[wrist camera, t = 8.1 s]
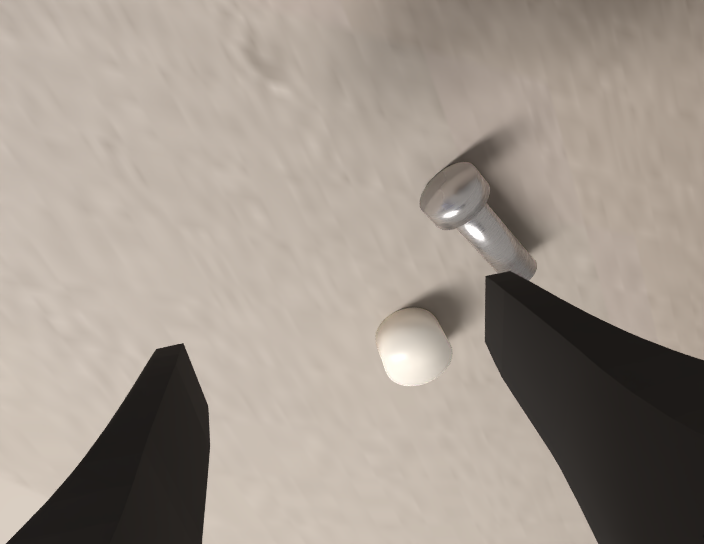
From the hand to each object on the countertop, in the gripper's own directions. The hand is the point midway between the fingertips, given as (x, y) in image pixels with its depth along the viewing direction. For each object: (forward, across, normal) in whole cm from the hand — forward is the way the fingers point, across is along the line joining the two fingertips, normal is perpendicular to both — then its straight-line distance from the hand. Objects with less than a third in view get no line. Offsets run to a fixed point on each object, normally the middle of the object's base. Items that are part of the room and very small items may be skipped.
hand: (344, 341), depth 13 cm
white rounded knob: (+10, -4, +9) cm, 14 cm away
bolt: (+10, -8, +4) cm, 13 cm away
